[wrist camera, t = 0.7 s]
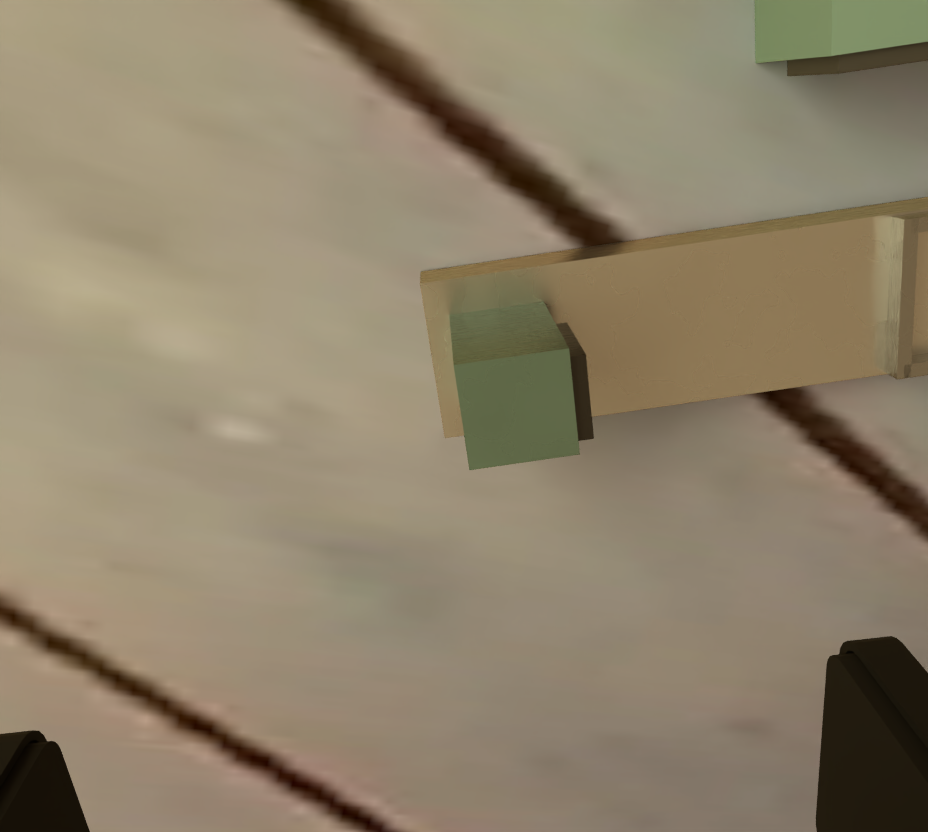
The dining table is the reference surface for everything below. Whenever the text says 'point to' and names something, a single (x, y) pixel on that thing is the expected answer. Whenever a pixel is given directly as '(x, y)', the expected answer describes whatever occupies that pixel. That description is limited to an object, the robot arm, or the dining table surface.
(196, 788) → the dining table surface
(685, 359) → the rail
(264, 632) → the dining table surface
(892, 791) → the robot arm
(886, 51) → the pale green gift box
